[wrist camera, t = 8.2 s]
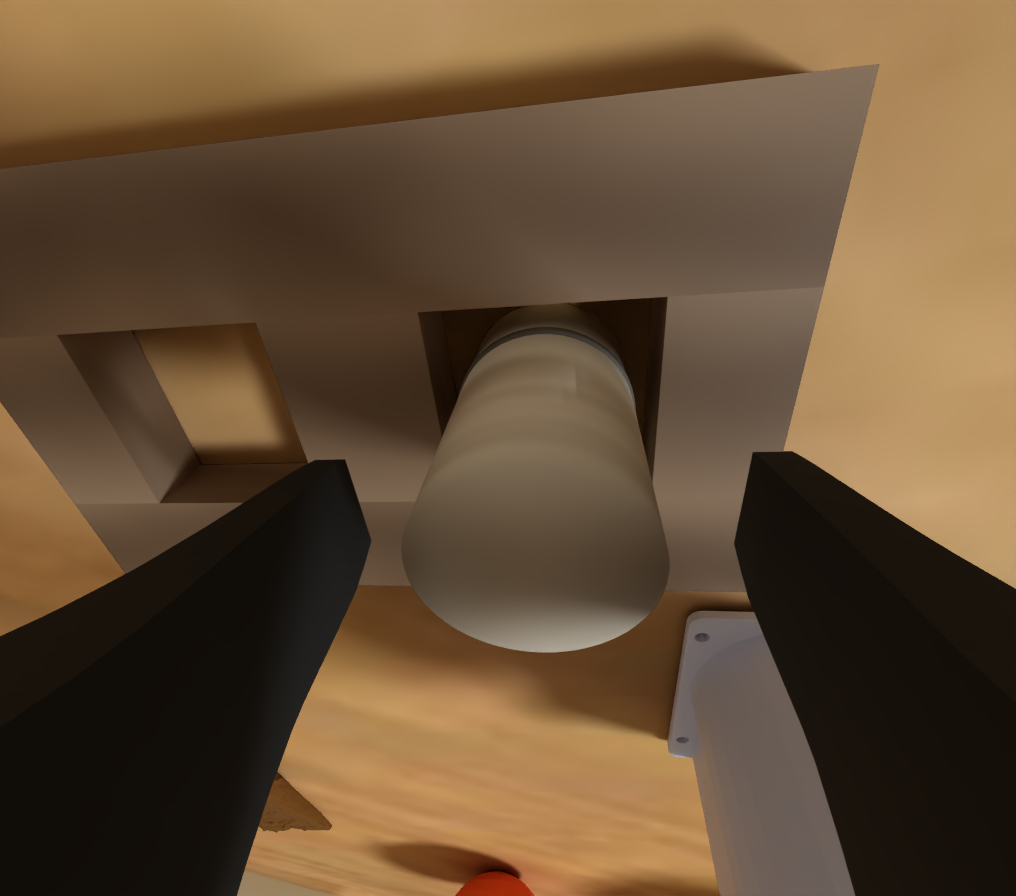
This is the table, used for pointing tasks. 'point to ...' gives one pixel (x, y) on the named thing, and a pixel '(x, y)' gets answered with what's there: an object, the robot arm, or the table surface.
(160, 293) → the board
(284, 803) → the primitive tool
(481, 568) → the peg
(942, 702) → the robot arm
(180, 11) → the table surface
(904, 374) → the table surface
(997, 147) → the table surface
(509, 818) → the table surface
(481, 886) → the red tomato
